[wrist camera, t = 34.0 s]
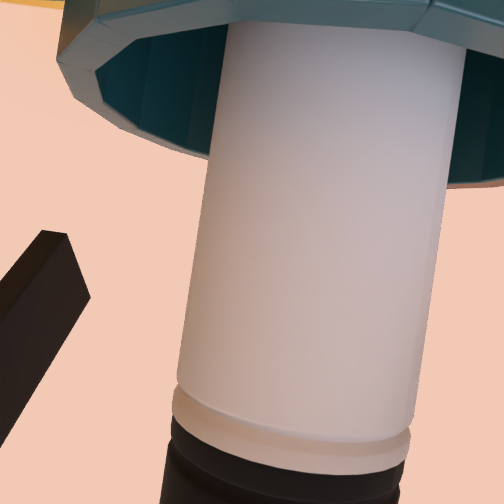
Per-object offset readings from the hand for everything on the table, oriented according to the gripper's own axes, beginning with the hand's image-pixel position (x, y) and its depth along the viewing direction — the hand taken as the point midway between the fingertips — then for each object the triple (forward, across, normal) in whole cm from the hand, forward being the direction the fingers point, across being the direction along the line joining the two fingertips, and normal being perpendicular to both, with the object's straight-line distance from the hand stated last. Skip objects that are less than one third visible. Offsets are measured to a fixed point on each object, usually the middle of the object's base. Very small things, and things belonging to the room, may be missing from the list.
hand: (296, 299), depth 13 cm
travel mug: (+10, 0, +10) cm, 14 cm away
